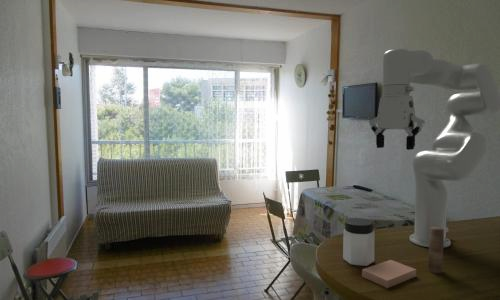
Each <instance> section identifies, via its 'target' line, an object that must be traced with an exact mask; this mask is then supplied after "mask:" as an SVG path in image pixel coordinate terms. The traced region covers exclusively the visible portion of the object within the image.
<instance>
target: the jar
mask: <svg viewBox="0 0 500 300" xmlns="http://www.w3.org/2000/svg"><path fill="white" fill-rule="evenodd" d="M374 226H375V225H374V222H373V221H372V220H370V219H367V218H362V217H361V218H360V217H349V218H346V219H345V221H344V229H343V230H342V231H343V235H342V236H343V237H342V244H343V245H342V247H343V250H342V259H343V261H346V262H347V263H348V264H349V265H351V266H353V265H354V266H364V267H367V266H368V267H369V265H371V264H372V263H374V262H375V236H376V235H375V234H376V233H375V232H376V231H375V230H374Z"/></svg>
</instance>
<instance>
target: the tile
mask: <svg viewBox="0 0 500 300" xmlns="http://www.w3.org/2000/svg"><path fill="white" fill-rule="evenodd" d="M361 277H362V278H365V279H367V280H368V281H371V282H373V283H376V285H377V284H378V285H380V286H381V287H384V288H385V289H388V288H391V287H394V286H395V285H398V284H401V283H403V282H406V281H408V280H411V279H414V278H416V277H417V269H416V268H414V267H411V266H408V265H405V264H403V263H401V262H398V261H395V260H392V259H388V260H386V261H383V262H380V263H376V264H375V265H374V264H373V265H372V266H368V267H366V268H363V269H361Z"/></svg>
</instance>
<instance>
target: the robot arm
mask: <svg viewBox="0 0 500 300" xmlns="http://www.w3.org/2000/svg"><path fill="white" fill-rule="evenodd" d="M410 84H419V85H425V86H426V85H429V86H435V87H440V88H442V89H446V90H449V91H465V92H457V93H455V94H452V95H451V96H450V97H448V99H447V101H446V107H445V108H446V119H447V124H445V127H444V128H442V130H441V131H440V132H439V134H438V135H437V136H436V138H435V139H434V140H433V142H432V145H431V149H424V150H421V151H418V152H417V153H416V154H415V155H414V157H413V159H412V168H413V173H414V180H415V181H414V182H415V198H414V199H415V202H414V203H415V204H414V232H413V233H412V234H410V235H409V241H410V242H411V243H412V244H415V245H417V246H420V247H424V248H425V247H426V248H429V242H430V227H440V228H443V229H444V239H443V249H445V248H448V247H450V246H451V240H450V238H447V237H446V233H447V232H449V227H447V208H448V207H447V205H448V204H447V203H448V202H447V201H448V193H447V189H446V186H445V183H443V181H448V182H457V183H458V182H459V183H460V182H461V183H462V182H465V181H466V180H467V179H468V178H470V177H471V175H472V174H473V172H474V171H475V169H476V168H477V167H478V166H479V164H480V162H481V161H482V160H483V158H484V157H485V155H486V150H487V140H486V138H485V137H484V135H483V134H482V133H480V132H476V131H473V129H474V128H473V126H472V124H471V122H470V121H469V119H467V118H466V117H467V116H492V115H495V114H497V113H499V110H500V91H499V90H498V87H497V83H496V80H495V78H494V75H493V74H492V72H491V69H490V68H489V66H487V65H486V64H485V63H480V62H479V63H478V62H477V63H472V64H461V65H459V64H456V63H453V62H450V61H448V60H445V59H438V58H437V59H435V58H434V57H433V56H432V54H431V53H430V52H429V51H427V50H425V49H418V50H408V49H406V48H393V49H389V50H387V51H385V52H384V53H383V58H382V96H381V97H380V99H379V102H378V109H377V116H375V117H374V118H373V119H371V120H369V121H368V123H369V126H370V128H371V131H372V132H373V133H374V135H375V138H376V139H375V141H376V142H375V145H376V148H377V149H383V148H385V135H384V132H386V130H404V131H405V132H406V134H407V136H406V138H405V139H406V144H405V148H406V150H407V151H411V150H414V149H415V148H414V147H415V146H416V136H418V134H419V133H420V132H421V131H422V128H423V127H424V124H425V123H426V122H425V120H424V119H422V118H419V117H418V116H416V110H415V102H414V98H413V95H410V94H411V92H414V90H415V89H414V86H411V85H410ZM467 90H468V91H467ZM469 90H477V91H469Z"/></svg>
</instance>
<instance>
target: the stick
mask: <svg viewBox="0 0 500 300" xmlns="http://www.w3.org/2000/svg"><path fill="white" fill-rule="evenodd" d="M443 239H444V229H443V228H440V227H430V242H429V247H428V271H429V272H431V273H433V274H442V273H443V261H444V260H443V259H444V248H443Z"/></svg>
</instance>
